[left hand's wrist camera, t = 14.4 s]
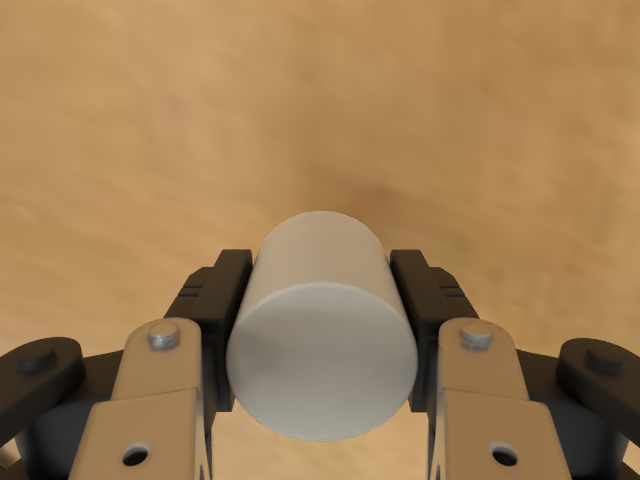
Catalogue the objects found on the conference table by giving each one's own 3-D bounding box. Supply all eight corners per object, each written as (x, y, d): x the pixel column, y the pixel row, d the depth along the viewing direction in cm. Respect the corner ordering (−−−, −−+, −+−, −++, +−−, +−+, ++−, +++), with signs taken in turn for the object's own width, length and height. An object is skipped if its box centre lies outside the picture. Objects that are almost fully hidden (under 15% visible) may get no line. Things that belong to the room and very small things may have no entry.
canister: (342, 349, 13) (351, 468, 9) (231, 292, 13) (191, 396, 9) (414, 252, 12) (459, 341, 8) (296, 183, 11) (284, 246, 8)
